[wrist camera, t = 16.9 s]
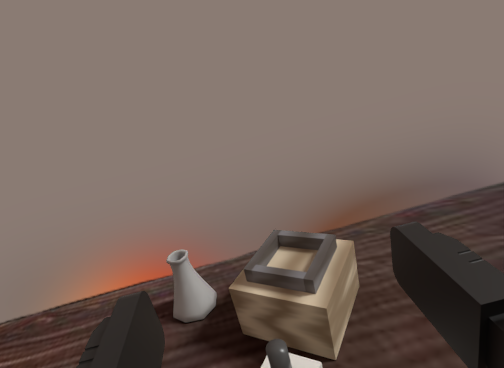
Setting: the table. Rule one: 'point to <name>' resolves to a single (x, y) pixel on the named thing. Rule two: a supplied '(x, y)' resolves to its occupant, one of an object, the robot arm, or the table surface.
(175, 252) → the flask
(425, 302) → the robot arm
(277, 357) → the plug
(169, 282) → the table surface
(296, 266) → the upper dock
